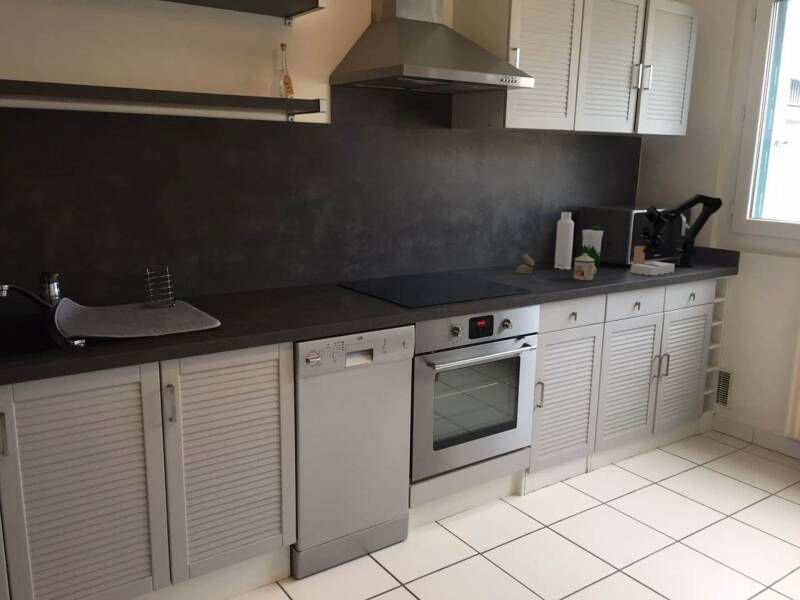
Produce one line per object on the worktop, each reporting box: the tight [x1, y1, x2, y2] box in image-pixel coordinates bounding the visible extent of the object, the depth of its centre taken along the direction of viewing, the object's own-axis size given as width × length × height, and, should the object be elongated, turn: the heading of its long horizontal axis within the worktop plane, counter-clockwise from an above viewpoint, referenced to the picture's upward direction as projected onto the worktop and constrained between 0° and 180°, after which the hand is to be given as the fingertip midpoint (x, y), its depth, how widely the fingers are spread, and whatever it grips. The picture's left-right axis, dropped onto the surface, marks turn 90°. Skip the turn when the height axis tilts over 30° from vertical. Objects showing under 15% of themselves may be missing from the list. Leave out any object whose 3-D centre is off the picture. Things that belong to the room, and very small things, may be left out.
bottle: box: [554, 211, 575, 270], centre depth 325 cm, size 8×8×28 cm
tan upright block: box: [633, 245, 647, 264], centre depth 333 cm, size 6×2×11 cm, turn 113°
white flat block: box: [630, 261, 676, 276], centre depth 320 cm, size 20×11×4 cm, turn 127°
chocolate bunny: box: [515, 252, 535, 274], centre depth 311 cm, size 6×8×10 cm
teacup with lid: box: [573, 253, 597, 281], centre depth 298 cm, size 12×9×12 cm
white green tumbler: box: [581, 225, 604, 266], centre depth 339 cm, size 9×9×20 cm
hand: (636, 251), depth 332 cm, fingers open, 9 cm apart
